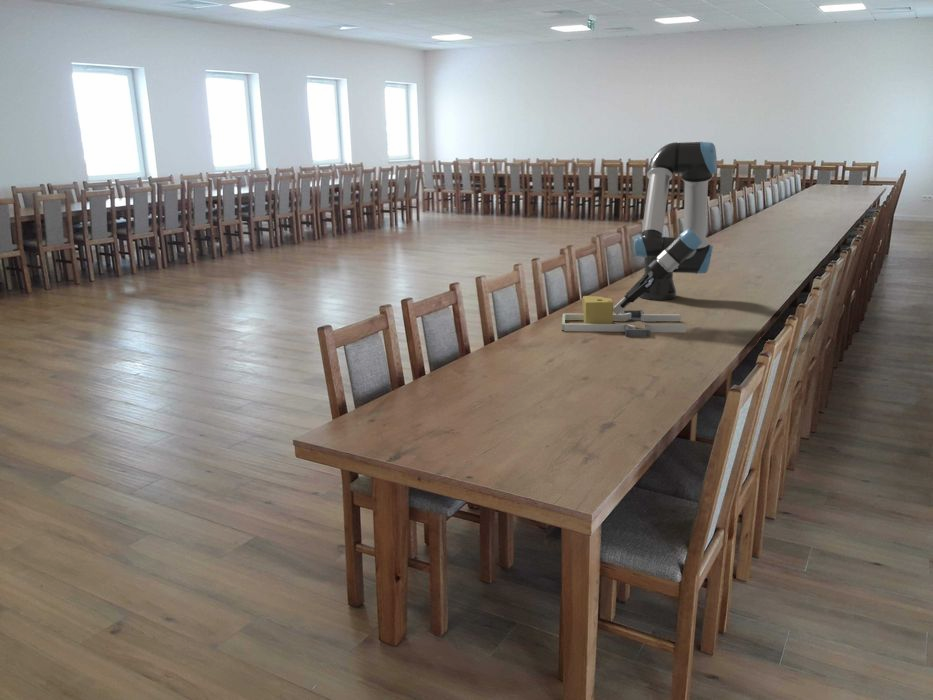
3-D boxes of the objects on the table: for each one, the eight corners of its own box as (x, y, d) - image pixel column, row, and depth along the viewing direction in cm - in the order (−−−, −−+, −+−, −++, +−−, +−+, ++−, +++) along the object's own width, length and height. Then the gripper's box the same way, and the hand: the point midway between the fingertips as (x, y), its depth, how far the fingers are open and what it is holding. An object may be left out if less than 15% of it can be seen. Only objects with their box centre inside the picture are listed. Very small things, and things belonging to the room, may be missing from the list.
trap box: (562, 315, 290) (563, 309, 289) (677, 316, 284) (678, 310, 283) (561, 335, 262) (561, 328, 262) (688, 337, 256) (689, 330, 255)
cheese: (610, 321, 279) (610, 295, 276) (613, 329, 269) (614, 301, 266) (581, 322, 280) (582, 295, 277) (584, 329, 270) (584, 302, 267)
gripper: (672, 276, 261) (622, 323, 268) (668, 269, 273) (620, 314, 280) (657, 261, 260) (607, 309, 267) (653, 255, 273) (606, 301, 280)
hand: (614, 312), depth 274 cm, fingers closed
